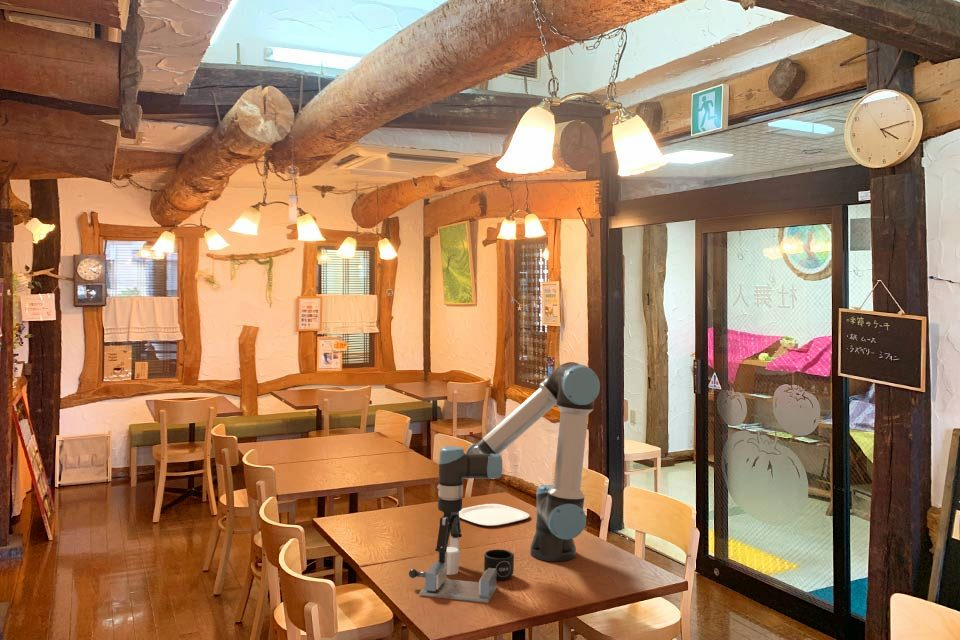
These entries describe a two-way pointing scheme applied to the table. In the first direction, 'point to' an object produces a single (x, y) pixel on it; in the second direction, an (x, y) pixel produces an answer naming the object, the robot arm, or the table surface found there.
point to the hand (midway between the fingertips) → (448, 565)
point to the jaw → (432, 576)
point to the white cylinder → (452, 560)
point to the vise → (466, 588)
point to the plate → (492, 515)
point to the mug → (500, 563)
